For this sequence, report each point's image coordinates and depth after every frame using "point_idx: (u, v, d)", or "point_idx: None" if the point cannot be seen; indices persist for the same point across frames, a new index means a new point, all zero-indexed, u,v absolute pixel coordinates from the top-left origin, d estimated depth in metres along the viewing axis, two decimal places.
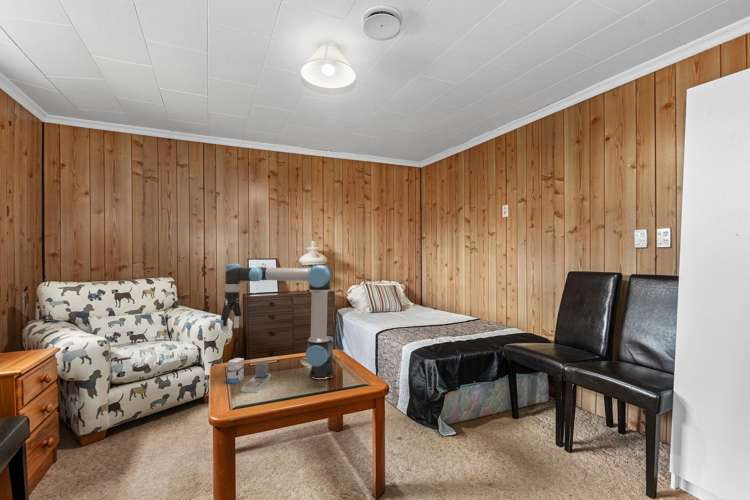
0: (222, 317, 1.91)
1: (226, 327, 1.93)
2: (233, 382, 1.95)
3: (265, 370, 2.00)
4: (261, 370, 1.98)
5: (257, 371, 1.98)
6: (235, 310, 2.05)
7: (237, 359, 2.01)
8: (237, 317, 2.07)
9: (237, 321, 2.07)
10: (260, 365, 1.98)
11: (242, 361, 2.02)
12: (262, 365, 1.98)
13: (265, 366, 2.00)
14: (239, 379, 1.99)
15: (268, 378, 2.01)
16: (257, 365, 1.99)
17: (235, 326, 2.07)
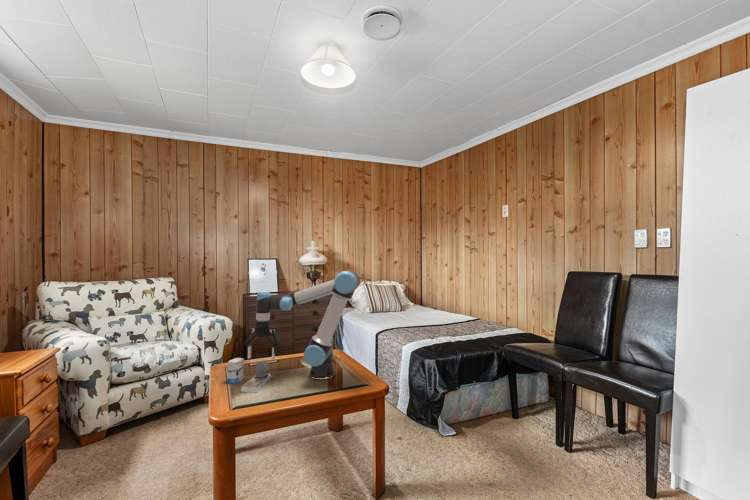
0: None
1: None
2: (233, 382, 1.95)
3: (265, 370, 2.00)
4: (261, 370, 1.98)
5: (257, 371, 1.98)
6: None
7: (237, 359, 2.01)
8: None
9: None
10: (260, 365, 1.98)
11: (242, 361, 2.02)
12: (262, 365, 1.98)
13: (265, 366, 2.00)
14: (239, 379, 1.99)
15: (268, 378, 2.01)
16: (257, 365, 1.99)
17: None
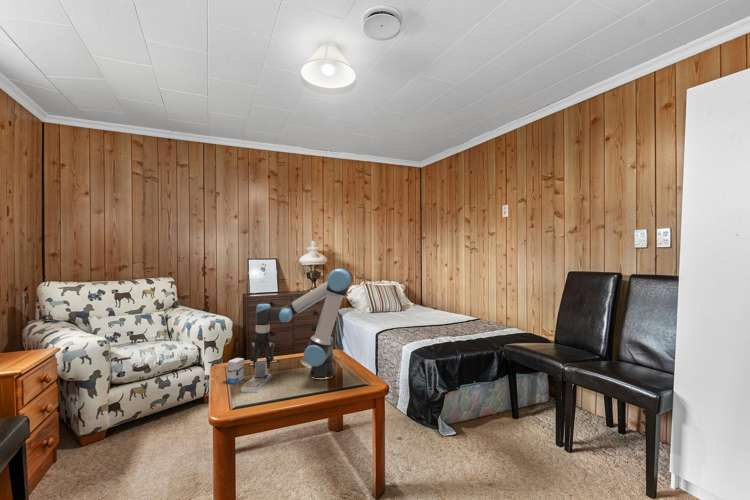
0: None
1: None
2: (233, 382, 1.95)
3: None
4: (261, 370, 1.98)
5: (257, 371, 1.98)
6: None
7: (237, 359, 2.01)
8: None
9: None
10: (260, 365, 1.98)
11: (242, 361, 2.02)
12: (262, 365, 1.98)
13: None
14: (239, 379, 1.99)
15: (268, 378, 2.01)
16: (257, 365, 1.99)
17: None
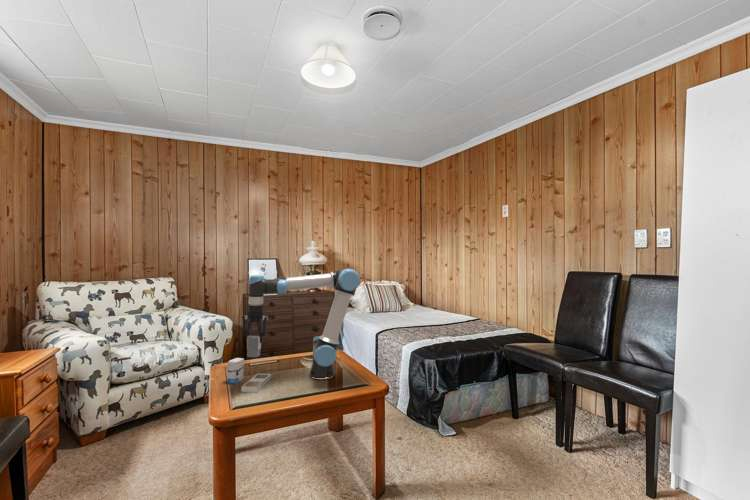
0: None
1: None
2: (233, 382, 1.95)
3: None
4: (253, 344, 1.88)
5: (249, 345, 1.88)
6: None
7: (237, 359, 2.01)
8: None
9: None
10: (252, 339, 1.88)
11: (242, 361, 2.02)
12: (254, 339, 1.88)
13: None
14: (239, 379, 1.99)
15: (268, 378, 2.01)
16: (250, 339, 1.89)
17: None
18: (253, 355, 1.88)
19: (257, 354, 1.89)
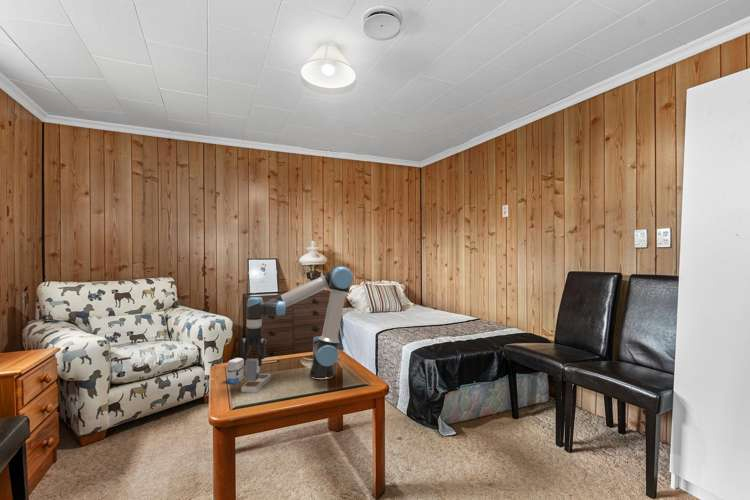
0: None
1: None
2: (233, 382, 1.95)
3: (256, 367, 1.87)
4: (252, 368, 1.85)
5: (248, 369, 1.86)
6: None
7: (237, 359, 2.01)
8: None
9: None
10: (251, 362, 1.86)
11: (242, 361, 2.02)
12: (253, 362, 1.86)
13: (256, 363, 1.87)
14: (239, 379, 1.99)
15: (268, 378, 2.01)
16: (248, 362, 1.86)
17: None
18: (252, 378, 1.85)
19: (256, 378, 1.87)
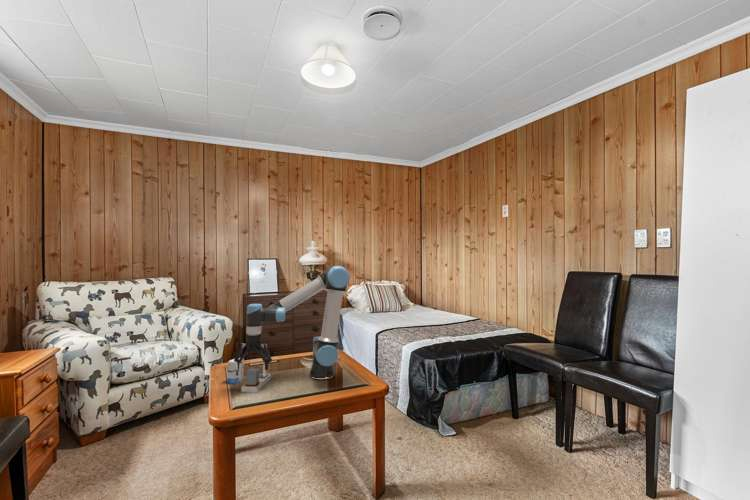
0: None
1: None
2: (233, 382, 1.95)
3: (256, 377, 1.87)
4: (252, 378, 1.85)
5: (248, 379, 1.85)
6: None
7: None
8: None
9: None
10: (251, 372, 1.85)
11: (242, 361, 2.02)
12: (253, 372, 1.85)
13: (256, 373, 1.87)
14: (239, 379, 1.99)
15: (268, 378, 2.01)
16: (248, 372, 1.86)
17: None
18: None
19: None
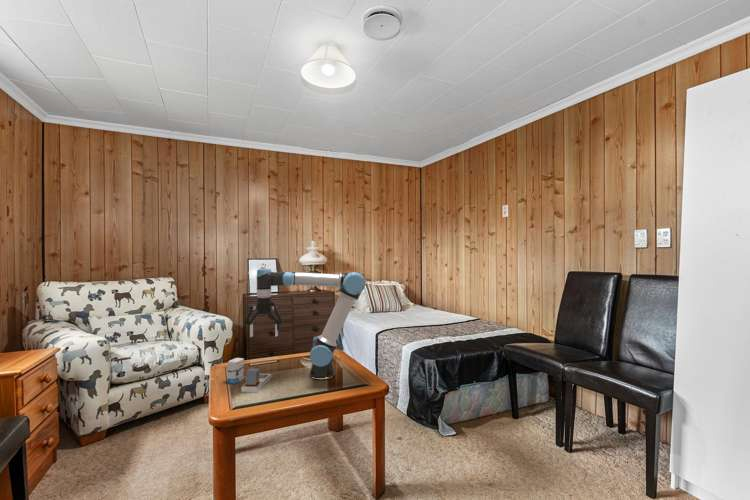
0: None
1: None
2: (233, 382, 1.95)
3: (256, 377, 1.87)
4: (252, 378, 1.85)
5: (248, 379, 1.85)
6: None
7: (237, 359, 2.01)
8: None
9: None
10: (251, 372, 1.85)
11: (242, 361, 2.02)
12: (253, 372, 1.85)
13: (256, 373, 1.87)
14: (239, 379, 1.99)
15: (268, 378, 2.01)
16: (248, 372, 1.86)
17: None
18: None
19: None
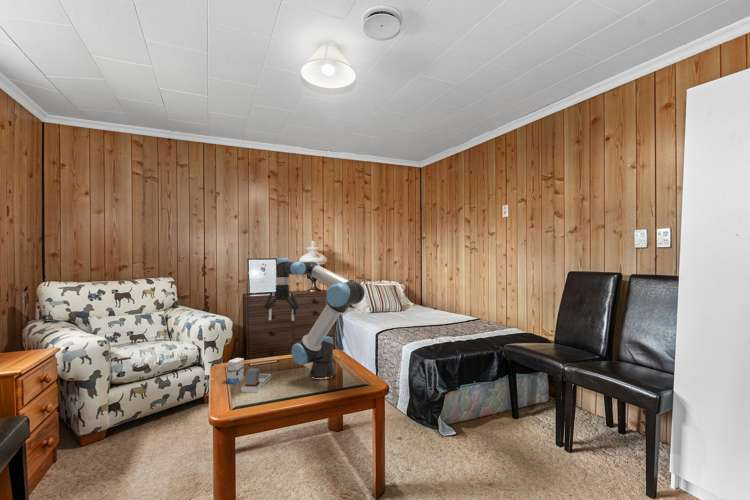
0: None
1: None
2: (233, 382, 1.95)
3: (256, 377, 1.87)
4: (252, 378, 1.85)
5: (248, 379, 1.85)
6: None
7: (237, 359, 2.01)
8: None
9: None
10: (251, 372, 1.85)
11: (242, 361, 2.02)
12: (253, 372, 1.85)
13: (256, 373, 1.87)
14: (239, 379, 1.99)
15: (268, 378, 2.01)
16: (248, 372, 1.86)
17: None
18: None
19: None
